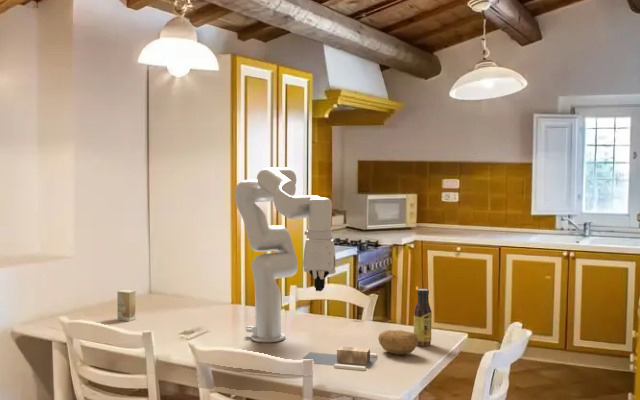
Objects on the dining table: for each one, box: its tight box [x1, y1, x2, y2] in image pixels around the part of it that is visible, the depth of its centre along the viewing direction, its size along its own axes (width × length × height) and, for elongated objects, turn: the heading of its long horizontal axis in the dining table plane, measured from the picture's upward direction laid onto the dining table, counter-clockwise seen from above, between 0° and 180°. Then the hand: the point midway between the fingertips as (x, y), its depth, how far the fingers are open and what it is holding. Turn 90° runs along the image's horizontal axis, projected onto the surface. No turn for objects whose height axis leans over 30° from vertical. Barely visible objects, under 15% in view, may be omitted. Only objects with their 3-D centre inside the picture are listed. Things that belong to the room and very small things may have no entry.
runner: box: [301, 351, 379, 371], centre depth 232 cm, size 24×16×1 cm
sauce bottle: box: [413, 288, 433, 347], centre depth 250 cm, size 6×6×20 cm
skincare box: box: [116, 289, 136, 322], centre depth 292 cm, size 6×4×12 cm
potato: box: [377, 329, 418, 356], centre depth 239 cm, size 10×14×8 cm
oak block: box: [336, 345, 371, 364], centre depth 230 cm, size 4×4×10 cm
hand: (319, 290), depth 233 cm, fingers closed
